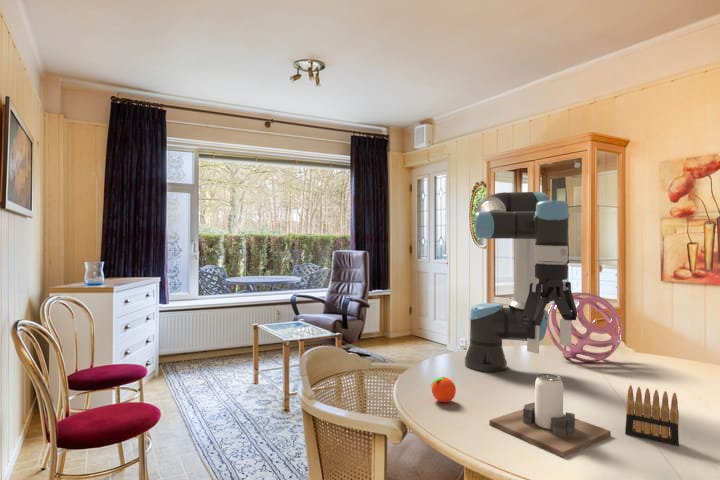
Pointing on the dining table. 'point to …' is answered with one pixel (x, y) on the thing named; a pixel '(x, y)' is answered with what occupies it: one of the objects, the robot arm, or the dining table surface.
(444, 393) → the clementine
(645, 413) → the ammunition clip
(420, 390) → the dining table surface
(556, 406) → the can
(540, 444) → the wooden board with blocks
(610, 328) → the pink slotted hollow sphere
